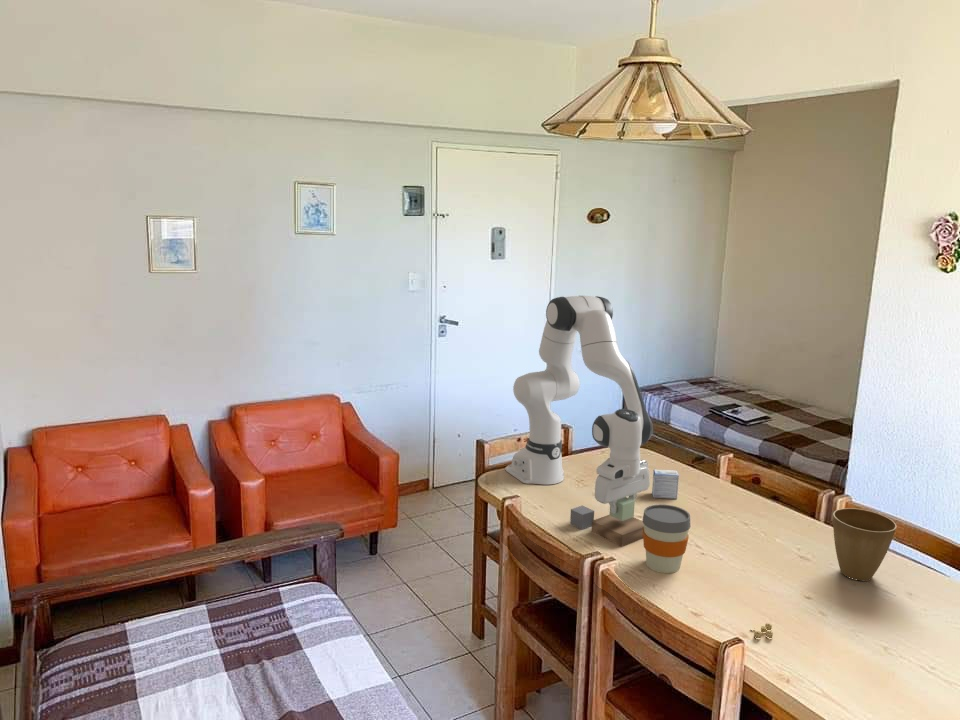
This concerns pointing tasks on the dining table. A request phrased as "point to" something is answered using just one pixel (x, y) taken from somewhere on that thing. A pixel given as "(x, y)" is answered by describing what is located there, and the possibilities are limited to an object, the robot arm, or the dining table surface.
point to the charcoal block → (581, 517)
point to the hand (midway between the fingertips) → (621, 509)
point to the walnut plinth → (618, 529)
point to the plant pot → (861, 541)
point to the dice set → (763, 629)
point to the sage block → (624, 509)
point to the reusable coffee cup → (665, 537)
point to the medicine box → (665, 484)
